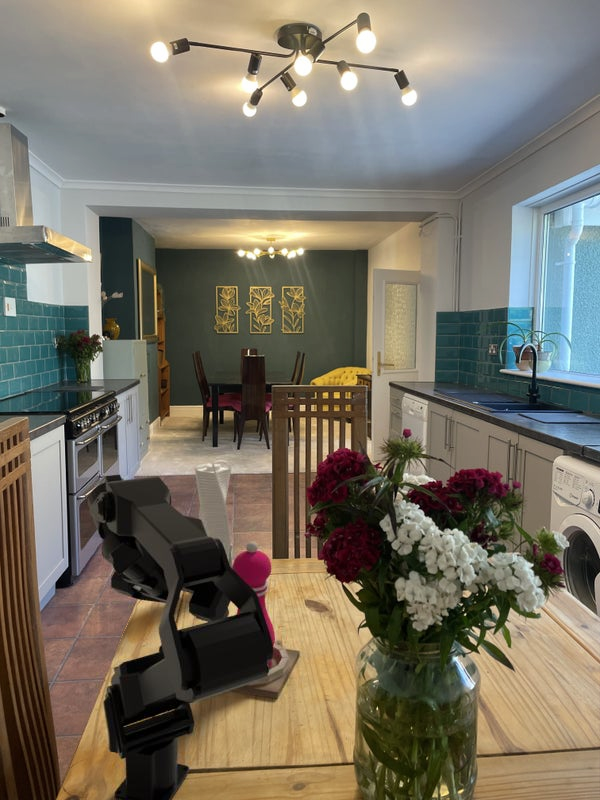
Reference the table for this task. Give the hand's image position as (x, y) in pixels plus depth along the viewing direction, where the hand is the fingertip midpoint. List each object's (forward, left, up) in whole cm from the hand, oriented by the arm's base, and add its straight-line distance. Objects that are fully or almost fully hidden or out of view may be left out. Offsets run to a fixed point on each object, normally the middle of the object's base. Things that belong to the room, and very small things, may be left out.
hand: (201, 608), depth 85 cm
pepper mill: (+8, -5, -13) cm, 16 cm away
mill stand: (+9, -5, -14) cm, 17 cm away
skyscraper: (+36, +13, -14) cm, 40 cm away
